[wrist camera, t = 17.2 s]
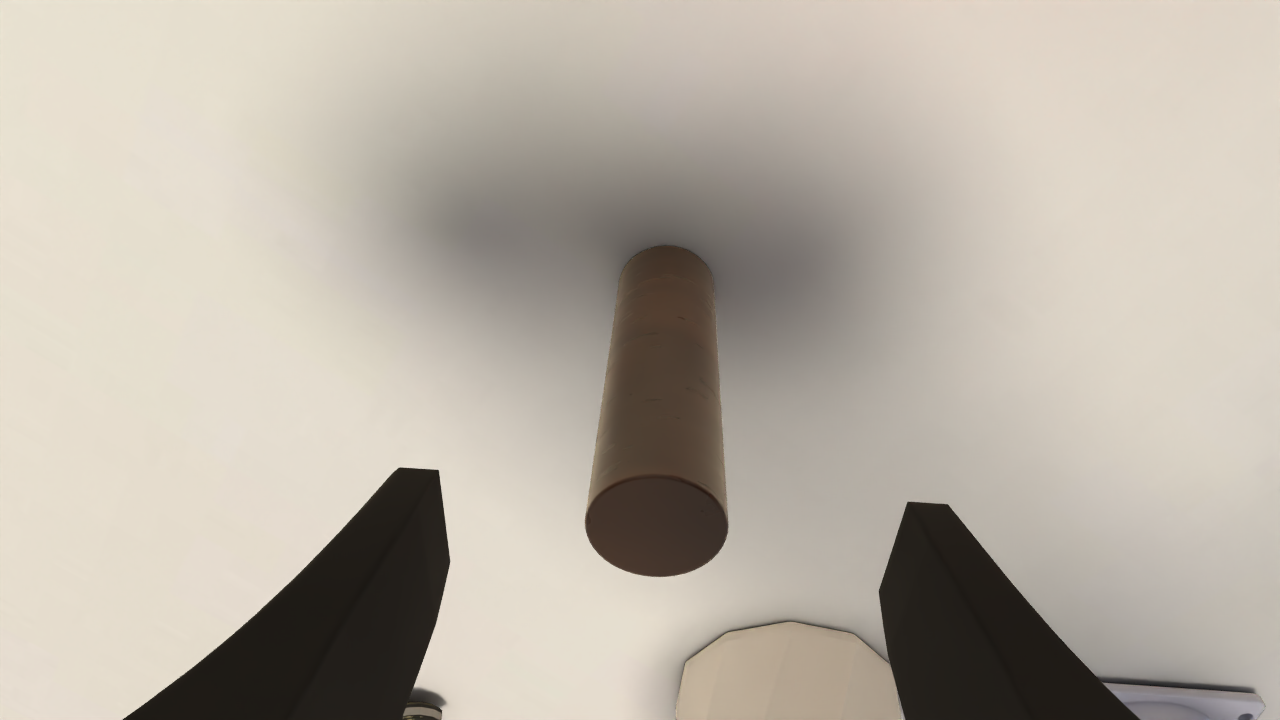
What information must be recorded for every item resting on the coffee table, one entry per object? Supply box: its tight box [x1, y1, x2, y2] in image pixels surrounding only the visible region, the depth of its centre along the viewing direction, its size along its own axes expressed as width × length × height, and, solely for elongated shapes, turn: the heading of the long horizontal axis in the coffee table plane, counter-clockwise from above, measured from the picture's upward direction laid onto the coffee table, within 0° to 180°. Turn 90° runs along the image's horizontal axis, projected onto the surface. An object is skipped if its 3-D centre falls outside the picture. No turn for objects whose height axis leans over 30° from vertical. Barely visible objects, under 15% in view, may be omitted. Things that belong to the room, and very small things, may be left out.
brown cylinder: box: [585, 246, 728, 577], centre depth 18 cm, size 3×3×9 cm
